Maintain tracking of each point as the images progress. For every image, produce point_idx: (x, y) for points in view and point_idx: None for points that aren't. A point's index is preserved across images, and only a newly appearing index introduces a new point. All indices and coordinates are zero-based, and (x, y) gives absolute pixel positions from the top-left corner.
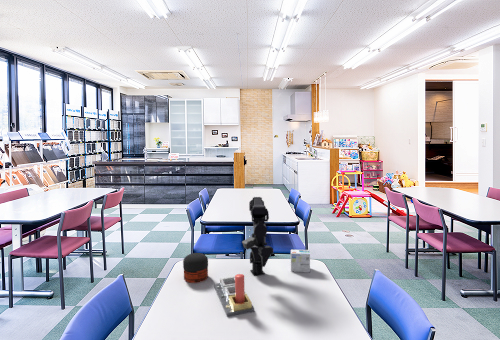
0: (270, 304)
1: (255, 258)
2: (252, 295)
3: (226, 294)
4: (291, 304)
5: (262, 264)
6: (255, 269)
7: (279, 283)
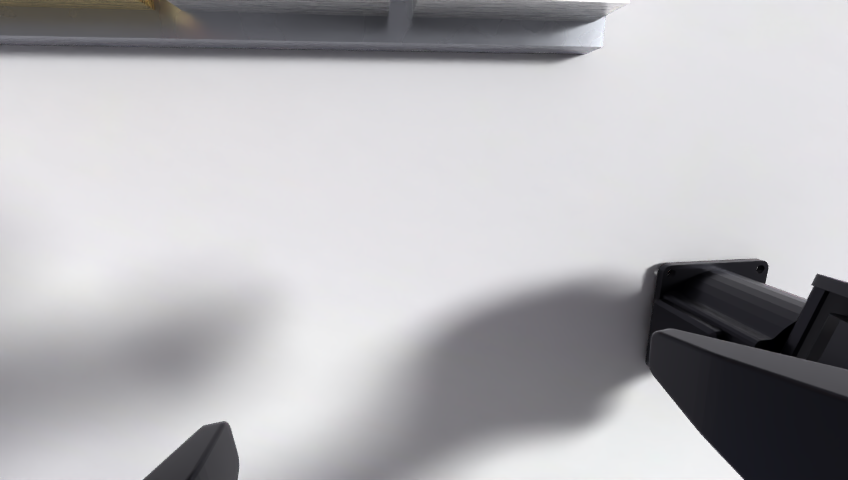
0: (84, 247)
1: (703, 380)
2: (294, 132)
3: None
4: (59, 417)
5: (155, 469)
6: (714, 304)
7: (443, 429)
